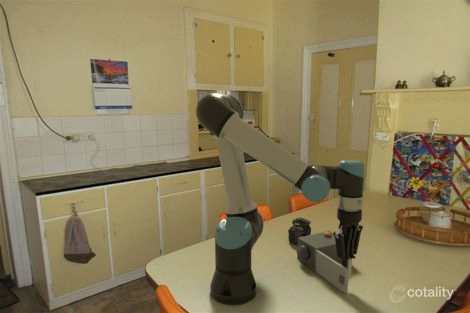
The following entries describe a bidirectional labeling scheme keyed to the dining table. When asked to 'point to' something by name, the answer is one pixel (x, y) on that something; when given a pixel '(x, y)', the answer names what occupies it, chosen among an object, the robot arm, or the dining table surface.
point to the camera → (299, 229)
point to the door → (331, 271)
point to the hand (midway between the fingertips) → (346, 276)
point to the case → (317, 247)
